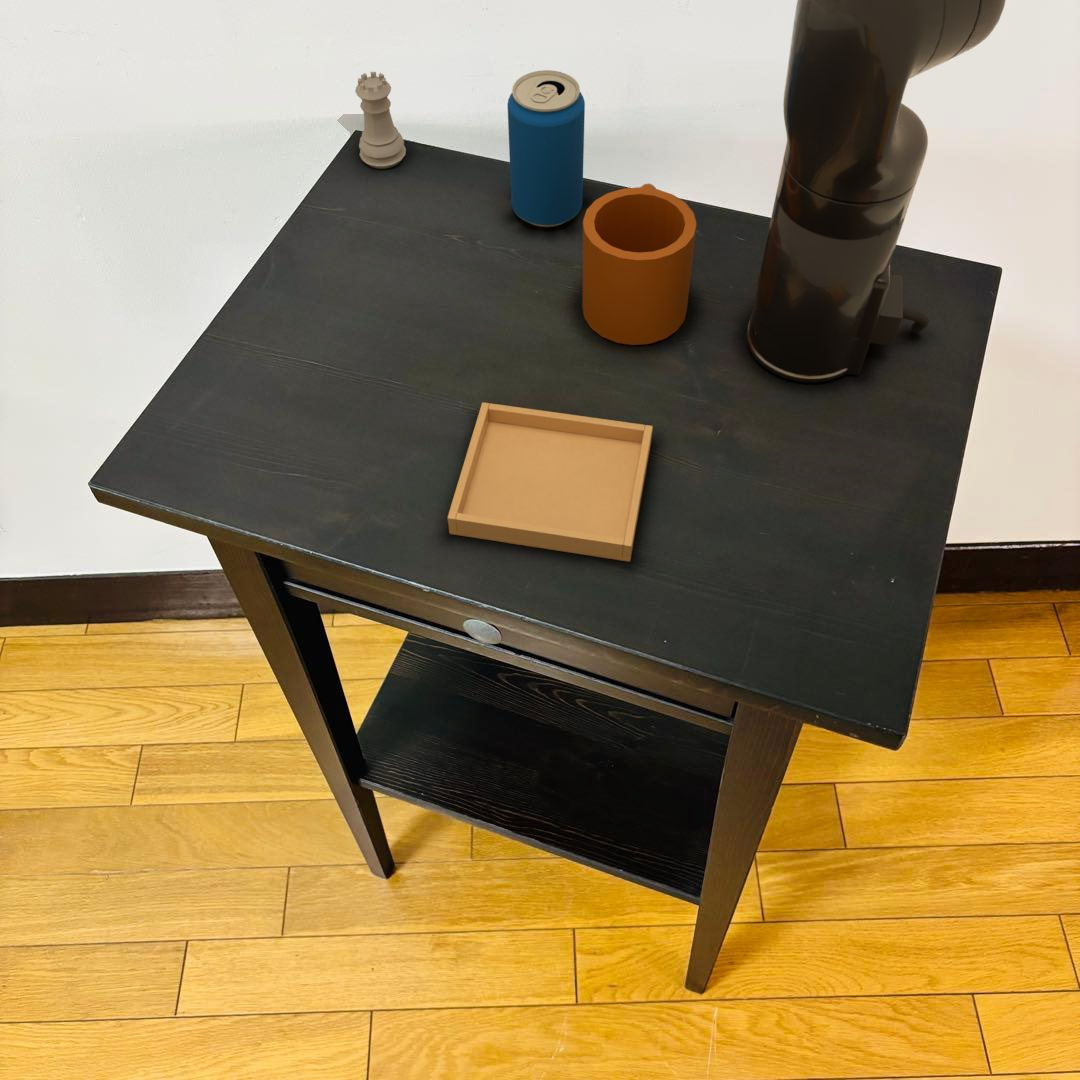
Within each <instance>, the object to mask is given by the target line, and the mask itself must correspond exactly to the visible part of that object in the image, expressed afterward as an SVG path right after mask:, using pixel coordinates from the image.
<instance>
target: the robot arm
mask: <svg viewBox="0 0 1080 1080" xmlns="http://www.w3.org/2000/svg"><path fill="white" fill-rule="evenodd" d="M1005 6H1006V0H796V5H795V12H794V19H793V24H792V25H793V26H792V32H791V33H792V34H791V39H790V41H791V42H790V47H789V56H788V63H787V70H786V77H785V84H784V91H783V102H782V103H783V104H782V106H783V119H784V126H785V132H786V144H785V149H784V153H783V159H782V162H781V163H782V164H781V167H780V174H779V179H778V183H777V188H776V193H775V198H774V202H773V208H772V213H771V218H770V223H769V227H768V231H767V237H766V242H765V247H764V252H763V257H762V262H761V266H760V270H759V271H757V273H756V276H755V281H754V287H756V291H755V296H754V301H753V306H752V310H751V312H750V317H749V321H748V324H747V329H746V336H745V337H746V344H747V348H748V350H749V352H750V354H751V355H752V357H753V358H754V360H755V361H756V362H757V363H758V364H759V365H760V366H762V367H763V368H764V369H765V370H767V371H769V373H772V374H774V375H775V376H778V377H780V378H783V379H786V380H789V381H793V382H798V383H804V384H805V383H806V384H808V383H809V384H815V383H825V382H830V381H833V380H836V379H839V378H842V377H843V376H845V375H850V376H851V375H852V376H859V375H860V374H861V371H862V369H863V365H864V363H865V360H866V357H867V353H868V351H869V348H870V345H871V344H875V345H876V344H877V345H884V346H891V347H892V346H894V344H895V340H896V338H897V335H898V333H899V330H900V327H901V323H902V321H903V319H905V320H909V321H911V322H912V321H913V323H912V324H911V328H910V329H911V331H912V332H913V333H915V334H918V333H919V334H920V333H921V332H922V331H923V330H924V329H926V328H927V326H928V325H929V323H930V319H929V316H928V315H927V314H926V313H925V312H923V311H921V310H918V309H915V308H911V307H907V306H904V276H903V275H899V274H898V275H897V274H891V263H892V262H891V261H892V258H893V256H894V252H895V250H896V246H897V243H898V240H899V237H900V234H901V231H902V228H903V225H904V221H905V219H906V215H907V213H908V209H909V206H910V203H911V200H912V197H913V194H914V191H915V188H916V185H917V182H918V179H919V177H920V175H921V171H922V168H923V165H924V162H925V159H926V155H927V152H928V145H929V137H928V132H927V129H926V126H925V124H924V121H922V119H921V117H919V115H917V113H916V112H915V111H914V110H913V109H911V108H910V107H909V106H907V105H905V104H903V103H902V101H903V98H904V93H905V90H906V87H907V84H908V82H909V79H912V78H914V77H916V76H919V75H920V74H922V73H924V72H927V71H929V70H931V69H934V68H935V67H938V66H940V65H942V64H944V63H946V62H949V61H950V60H952V59H955V58H956V57H958V56H960V55H962V54H965V53H966V52H969V51H970V50H972V49H974V48H975V47H977V46H978V45H980V44H981V43H983V42H984V41H985V40H986V39H987V38H988V37H989V36H990V35H991V34H992V33H993V31H994V30H995V28H996V26H997V24H998V23H999V21H1000V19H1001V17H1002V14H1003V11H1004V9H1005Z"/></svg>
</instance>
